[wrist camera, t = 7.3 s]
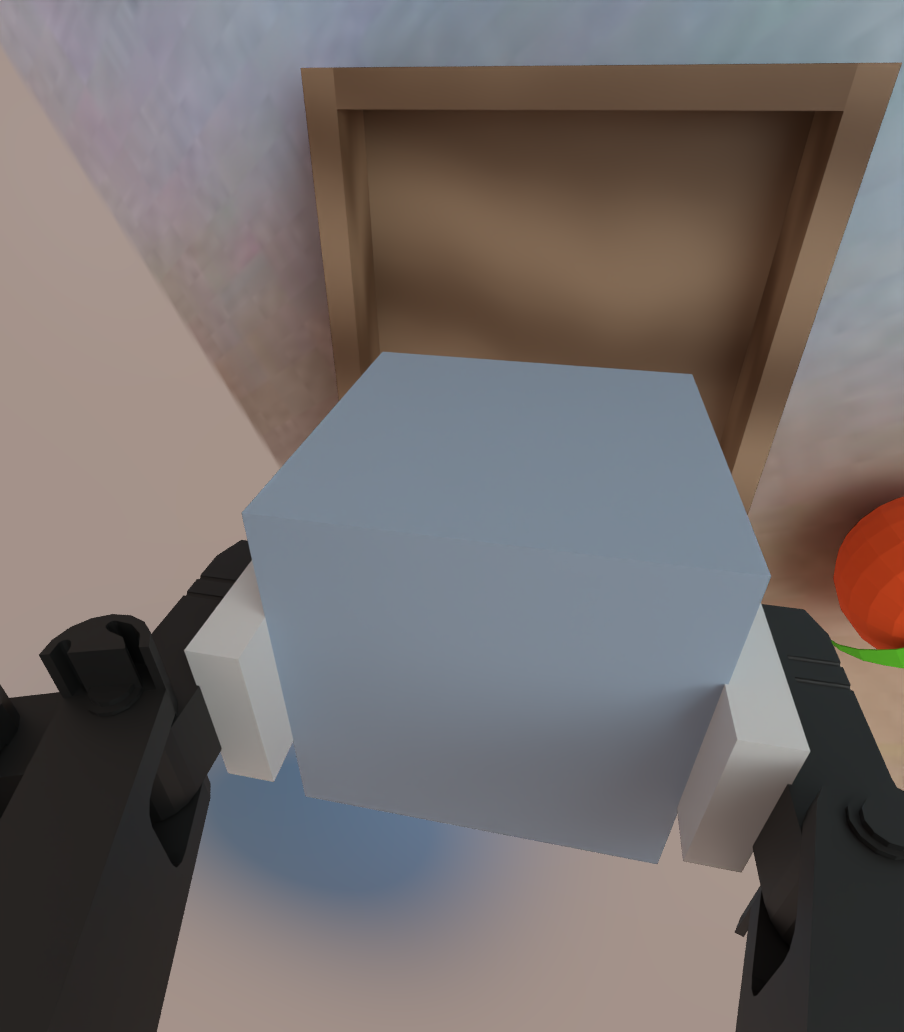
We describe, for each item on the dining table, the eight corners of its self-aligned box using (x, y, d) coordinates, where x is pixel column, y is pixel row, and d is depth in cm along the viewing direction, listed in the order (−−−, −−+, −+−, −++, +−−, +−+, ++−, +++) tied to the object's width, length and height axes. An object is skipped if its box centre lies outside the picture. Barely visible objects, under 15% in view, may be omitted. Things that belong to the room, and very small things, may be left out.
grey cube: (382, 351, 12) (242, 512, 7) (692, 374, 11) (771, 576, 6) (395, 579, 15) (305, 796, 11) (634, 611, 15) (657, 864, 10)
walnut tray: (339, 72, 20) (300, 67, 18) (856, 68, 18) (902, 62, 15) (374, 479, 29) (352, 516, 27) (718, 515, 27) (731, 561, 24)
